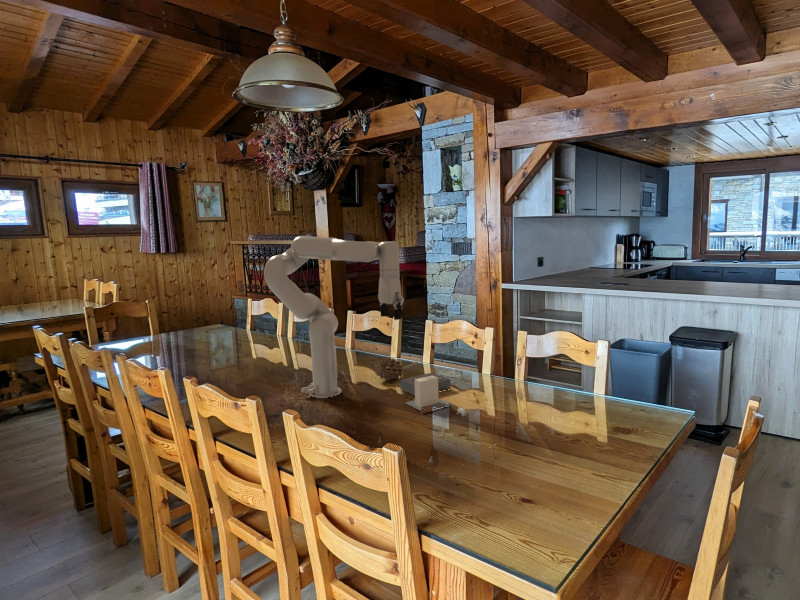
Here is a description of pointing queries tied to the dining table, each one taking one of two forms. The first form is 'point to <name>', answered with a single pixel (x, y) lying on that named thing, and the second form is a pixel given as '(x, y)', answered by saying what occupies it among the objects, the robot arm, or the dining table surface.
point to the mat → (437, 405)
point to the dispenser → (409, 383)
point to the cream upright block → (426, 391)
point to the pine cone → (390, 368)
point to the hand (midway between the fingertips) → (391, 317)
